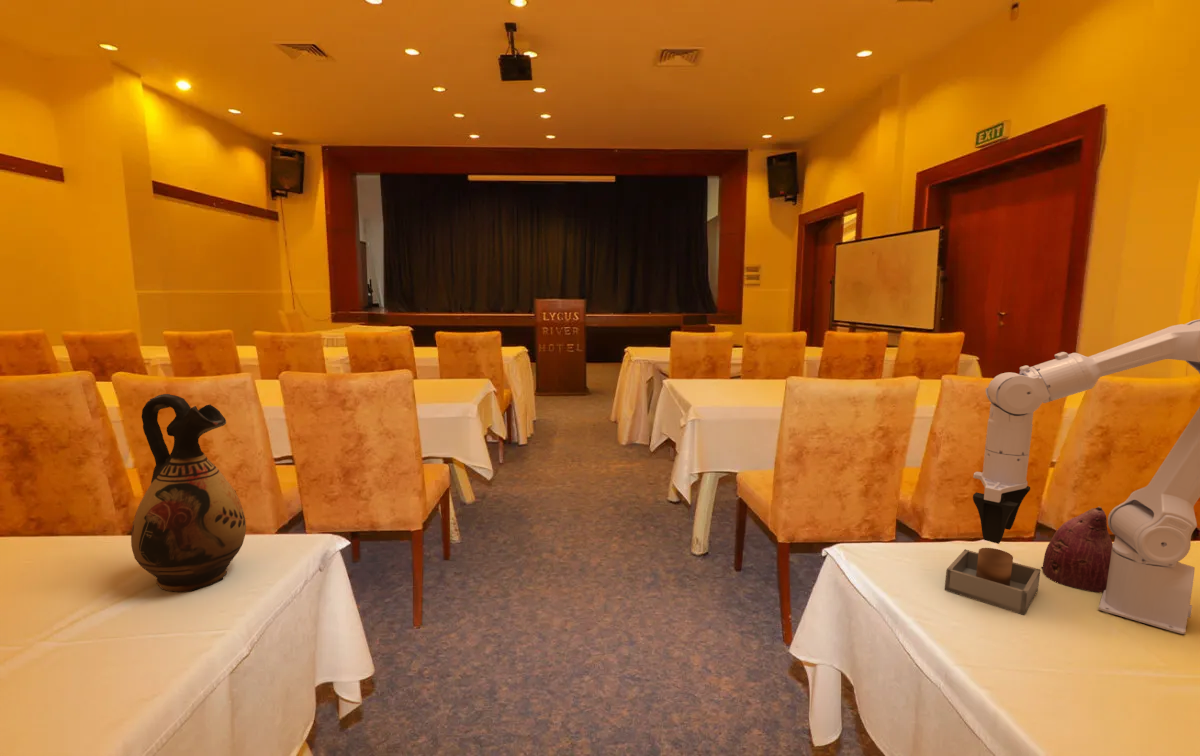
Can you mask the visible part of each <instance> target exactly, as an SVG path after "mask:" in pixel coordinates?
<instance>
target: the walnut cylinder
mask: <svg viewBox="0 0 1200 756" xmlns="http://www.w3.org/2000/svg"><path fill="white" fill-rule="evenodd" d="M978 553H979V554H978V563H977V572H976V577H980V578H983V579H987V580H990V581H993V582H997V583H1000V584H1004V585H1007V586H1010V580H1011V572H1012V563H1013V562H1014V556H1013V555H1012V554H1011V553H1009V552H1007V551H1005V550H1002V549H997V548H994V547H981V548H979V549H978Z"/></svg>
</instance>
